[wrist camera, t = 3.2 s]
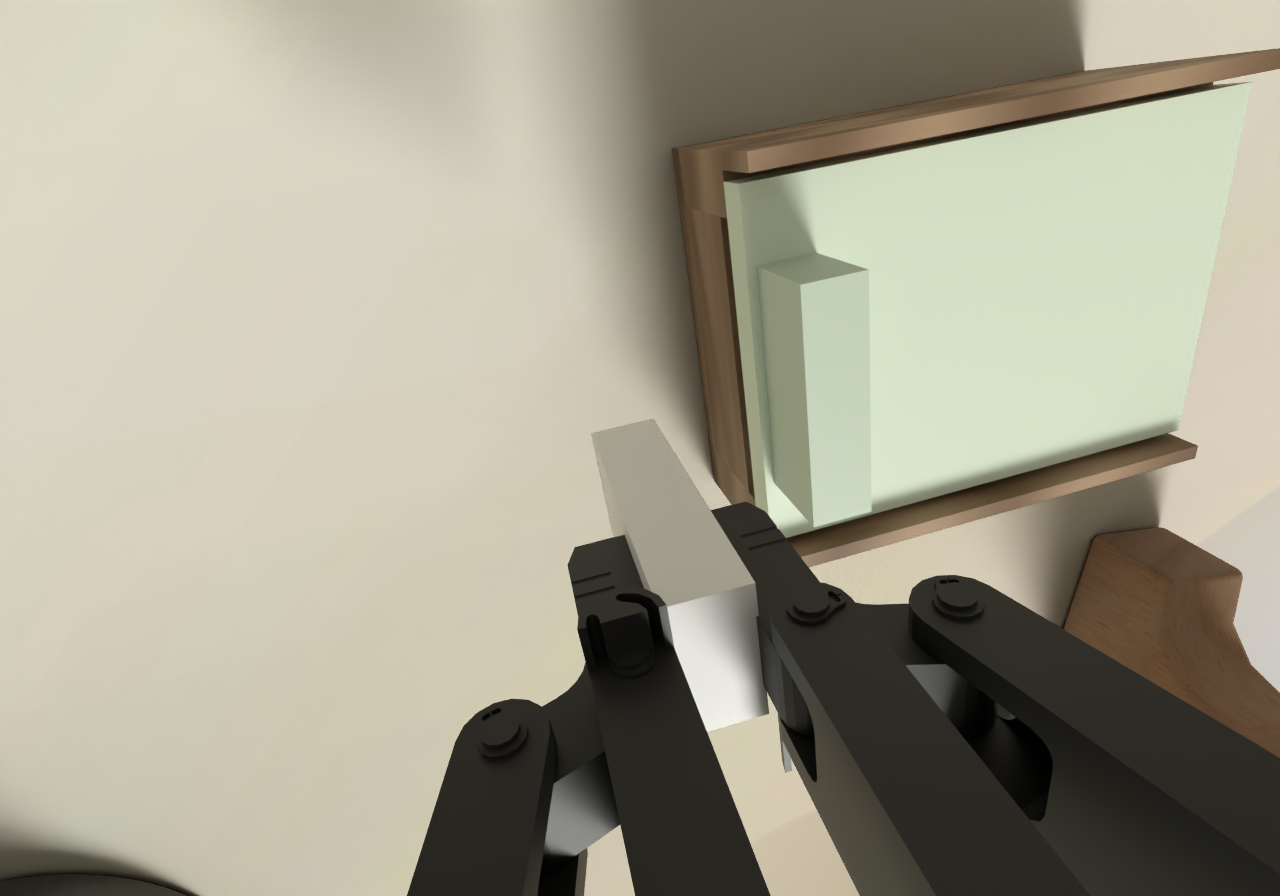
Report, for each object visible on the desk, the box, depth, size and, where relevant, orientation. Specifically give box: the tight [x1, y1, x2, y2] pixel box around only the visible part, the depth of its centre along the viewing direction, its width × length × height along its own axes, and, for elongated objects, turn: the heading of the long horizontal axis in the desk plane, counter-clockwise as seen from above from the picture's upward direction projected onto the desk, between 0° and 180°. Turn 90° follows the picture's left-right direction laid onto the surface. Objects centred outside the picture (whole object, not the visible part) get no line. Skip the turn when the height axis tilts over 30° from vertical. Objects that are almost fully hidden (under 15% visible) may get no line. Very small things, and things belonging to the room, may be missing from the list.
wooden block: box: [1063, 527, 1280, 758], centre depth 29 cm, size 9×4×18 cm, turn 179°
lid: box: [724, 82, 1252, 538], centre depth 21 cm, size 16×11×4 cm
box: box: [672, 48, 1280, 567], centre depth 24 cm, size 16×13×7 cm
